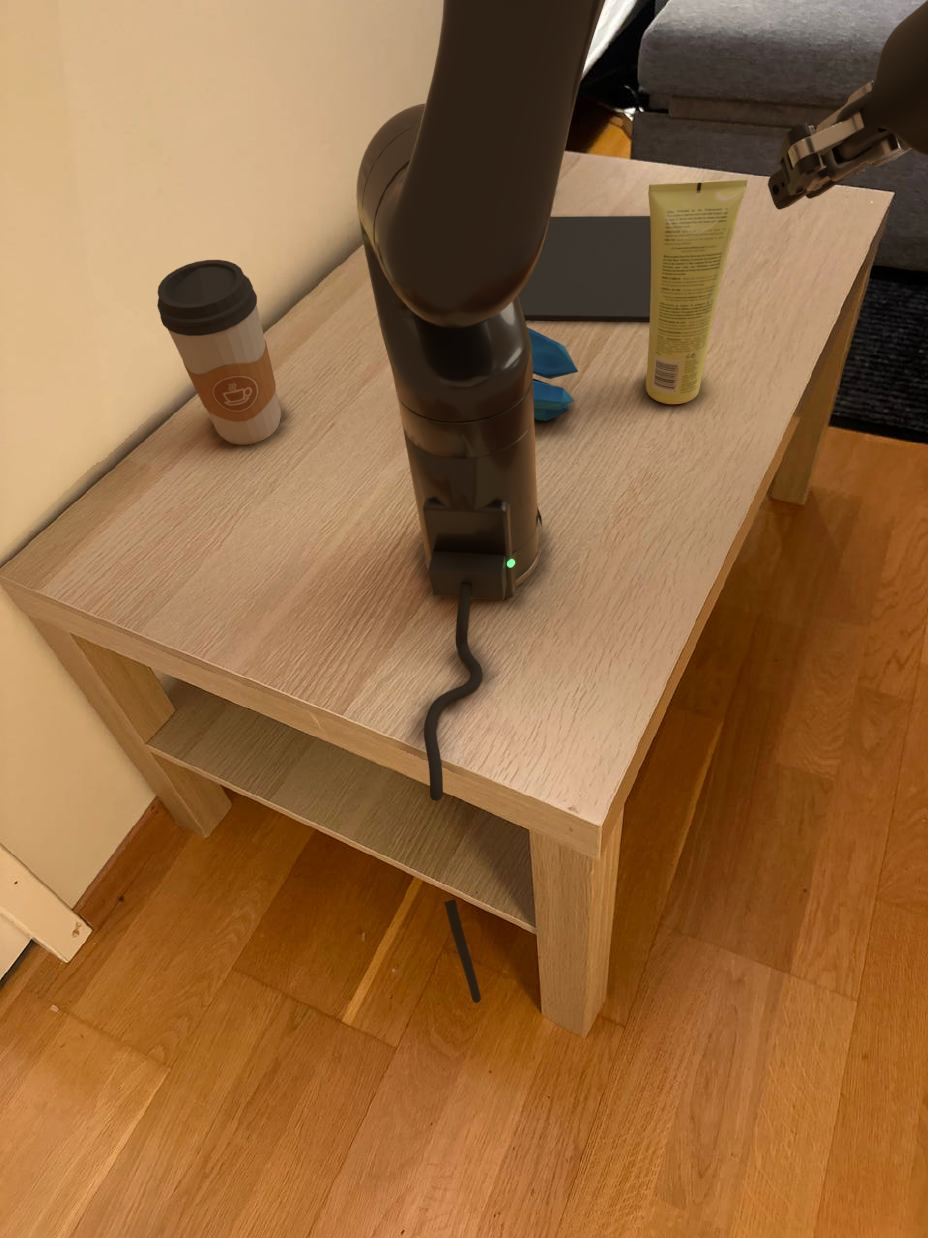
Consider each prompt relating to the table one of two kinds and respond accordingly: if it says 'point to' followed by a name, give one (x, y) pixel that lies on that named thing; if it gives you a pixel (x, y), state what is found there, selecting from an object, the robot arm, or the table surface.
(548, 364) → the crystal
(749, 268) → the table surface
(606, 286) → the mat
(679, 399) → the tube
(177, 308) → the coffee cup
